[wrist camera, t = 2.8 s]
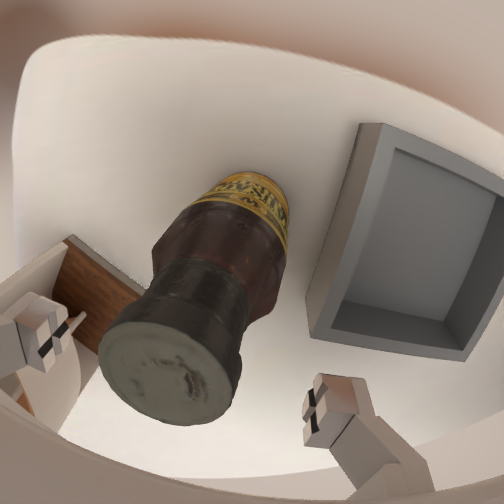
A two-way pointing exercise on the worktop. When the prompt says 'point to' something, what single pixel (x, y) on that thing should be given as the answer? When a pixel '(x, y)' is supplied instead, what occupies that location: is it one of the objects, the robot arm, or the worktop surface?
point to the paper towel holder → (79, 321)
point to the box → (410, 250)
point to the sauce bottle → (200, 303)
